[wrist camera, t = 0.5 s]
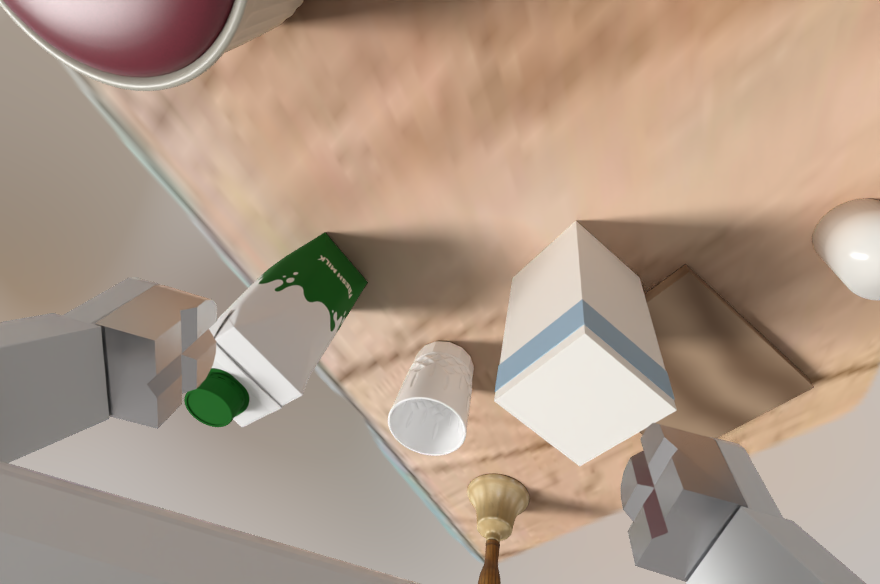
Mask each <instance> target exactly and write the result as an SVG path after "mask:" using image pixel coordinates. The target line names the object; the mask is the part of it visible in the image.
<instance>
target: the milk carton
mask: <svg viewBox="0 0 880 584" xmlns="http://www.w3.org/2000/svg"><path fill="white" fill-rule="evenodd" d="M367 283H368V282H367V281H366V280H365V278H364V277H363V276H362V275H361V274H360V273H359V271H358V270H357V269H356V268H355V267H354V266H353V264H352V263H351V262H350V261H349V260H348V259H347V257H346V256H345V255H344V254H343V253H342V252H341V250H340V249H339V248H338V247H337V246H336V245H335V243H334V242H333V241H332V240H331V239H330V238H329V236H328V235H327V234H326V233H323V234H321V235H320V236H318V237H317V238H315V239H314V240H312V241H310V242H309V243H307V244H305V245H304V246H302V247H300V248H299V249H297V250H295V251H294V252H292V253H291V254H289V255H287V256H286V257H284V258H283V259H282V260H280V261H279V262H277V263H276V264H275V265H273V266H272V267H271V268H269V269H268V270H267V271H266V272H265V273H263V274H262V275H261V276H260V277H259V278H258V279H257V280H256V281H255V282H254V283H253V284H252V285H251V286H250V287H249V288H248V289H247V290H246V291H245V292H244V293H243V294H242V295H241V296H240V297H239V298H238V299H237V300H236V301H235V302H234V303H233V304H232V305H231V306H230V307H229V308H228V309H227V310H226V311H225V312H224V313H223V314H222V315H221V316H220V317H219V319H217V322H216V323H215V324H213V325H212V326H211V327H210V328H209V330H210V332H211V333H212V335H213V337H214V338H215V340H216V354H215V359H214V363H213V366H212V368H211V369H210V371H209V373H208V375H207V377H206V379H205V380H204V381H203V382H202V383H201V384H200V385H199V387H198V388H197V389H194V390H191V391H188V392H187V393H186V395H185V405H186V408H187V410H188V411H189V412H190V414H191V415H192V416H193V417H194V418H196V419H197V420H198V421H200V422H202V423H204V424H206V425H209V426H212V427H223V426H226V425H228V424H229V423H230V422H231V421H232V420H233V419H234V420H235V421H236V422H237V423H238V424H239V425H240V426H241V427H244V426H246V425H248V424H250V423H252V422H254V421H256V420H258V419H260V418H262V417H264V416H266V415H268V414H270V413H272V412H275V411H277V410H279V409H281V408H282V407H283V406H285V405H286V404H287V403H289V402H291V401H293V400H295V399H296V398H298V397H300V396H302V395H303V392H304V390H305V387H306V384H307V381H308V379H309V376H310V374H311V373H312V371H313V370H314V368H315V367H316V365H317V364H318V362H319V360H320V359H321V357H322V355H323V354H324V352H325V351H326V349H327V347H328V346H329V344H330V343H331V341H332V339H333V338H334V336H335V335H336V333H337V331H338V330H339V328H340V327H341V325H342V323H343V322H344V320H345V318H346V317H347V315H348V314H349V312H350V310H351V309H352V307H353V305H354V304H355V302H356V301H357V299H358V297H359V296H360V294H361V292H362V291H363V289H364V287H365V286H366V284H367Z"/></svg>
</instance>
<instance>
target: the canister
mask: <svg viewBox="0 0 880 584" xmlns="http://www.w3.org/2000/svg"><path fill="white" fill-rule="evenodd" d="M302 3H303V0H0V6H1V7H2V8H3V9H4V11H5V12H6V13H7V14H8V15H9V16H10V17H11V19H12V20H13V21H14V22H15V23H16V24H17V25H18V26H19V27H20V28H21V29H22V30H23V31H24V32H25V33H26V34H27V35H28V36H29V37H31V39H33V40H34V41H35V42H36V43H37V44H38V45H40V46H41V47H42V48H43V49H44V50H46V51H47V52H48V53H50V54H51V55H52V56H54V57H55V58H56V59H58V60H59V61H61V62H62V63H64V64H65V65H67V66H68V67H70V68H72V69H74V70H75V71H77V72H79V73H81V74H83V75H85V76H87V77H89V78H91V79H94V80H96V81H98V82H101V83H104V84H107V85H110V86H114V87H118V88H122V89H128V90H136V91H156V90H163V89H168V88H172V87H176V86H179V85H182V84H184V83H187V82H189V81H191V80H193V79H195V78H196V77H198V76H200V75H201V74H203V73H204V72H205V71H207V70H208V69H209V68H210V67H211V66H212V65H213V64H215V63H216V61H217V60H218V59H219V58H220V57H221V56H222V55H223V53H225V52H228V51H230V50H232V49H234V48H236V47H238V46H240V45H243V44H245V43H247V42H249V41H251V40H252V39H254V38H256V37H258V36H261V35H262V34H264V33H266V32H268V31H270V30H272V29H273V28H275V27H277V26H279V25H280V24H282V23H283V22H284V21H285V19H287V18H289V17H290V16H292V15H293V14H294V12H295V10H296V9H297V8H298V7H299V6H300V5H301V4H302Z"/></svg>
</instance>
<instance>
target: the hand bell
mask: <svg viewBox="0 0 880 584" xmlns="http://www.w3.org/2000/svg"><path fill="white" fill-rule="evenodd" d="M467 495H468V498H469V500H470V502H471V504H472V505H473V506H474V507H475V509H476V514H477V530H478V532H479V533H480V534H481V535H482V536H483V537H485V538H486V553H485V563H484V566H483V569H482V571H481V573H480V576H479V581H478V584H500V574H499V570H498V556H499V548H500V541H502V540H505V539H507V538H508V537H509V536H510V535H511V533H512V529H513V525H514V521H515V518H516V516H517V515H519V514H521V513H522V512H523V511H524V510H525V509H526V508H527V506H528V504H529V494H528V492H527V490H526V488H525V487H524V486H523V485H522V484H521V483H520V482H519V481H517V480H515V479H513V478H511V477H508V476H505V475H501V474H485V475H481V476H479V477H476V478H475V479H474V480H472V481H471V482H470V484H469V486H468V488H467Z"/></svg>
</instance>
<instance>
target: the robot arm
mask: <svg viewBox="0 0 880 584" xmlns="http://www.w3.org/2000/svg"><path fill="white" fill-rule="evenodd" d="M216 322H217V305H216V304H215V303H214V301H213V300H211V299H208V298H205V297H202V296H198V295H195V294H192V293H188V292H185V291H181V290H178V289H175V288H172V287H168V286H165V285H160V284H158V283H155V282H151V281H147V280H144V279H140V278H127V279H125V280H124V281H122V282H120V283H118V284H116V285H115V286H113V287H111V288H109V289H108V290H106V291H104V292H102V293H101V294H99V295H97V296H95V297H94V298H92V299H90V300H88V301H87V302H85V303H83V304H82V305H80V306H78V307H76V308H75V309H73V310H71V311H69V312H67V313H66V314H64V315H59V314H55V313H51V314H45V315H40V316H34V317H29V318H22V319H16V320H11V321H5V322H0V584H420V583H416V582H413V581H409V580H406V579H403V578H399V577H395V576H392V575H389V574H386V573H382V572H379V571H375V570H372V569H368V568H365V567H361V566H358V565H354V564H351V563H347V562H344V561H341V560H337V559H334V558H330V557H327V556H323V555H320V554H317V553H314V552H310V551H307V550H303V549H300V548H296V547H293V546H290V545H286V544H283V543H279V542H276V541H272V540H269V539H266V538H262V537H258V536H255V535H252V534H249V533H245V532H242V531H238V530H235V529H231V528H228V527H225V526H221V525H218V524H214V523H211V522H207V521H204V520H201V519H197V518H194V517H190V516H187V515H184V514H180V513H176V512H173V511H170V510H166V509H163V508H160V507H156V506H153V505H149V504H146V503H142V502H139V501H135V500H132V499H129V498H125V497H122V496H119V495H115V494H112V493H108V492H105V491H101V490H98V489H94V488H91V487H88V486H84V485H80V484H78V483H74V482H71V481H67V480H64V479H60V478H57V477H54V476H50V475H47V474H43V473H40V472H36V471H33V470H30V469H26V468H23V467H19V466H16V465H12V464H9V462H11V461H14V460H16V459H18V458H20V457H23V456H25V455H27V454H30V453H32V452H34V451H37V450H39V449H41V448H43V447H46V446H48V445H50V444H53V443H55V442H57V441H60V440H62V439H64V438H66V437H69V436H70V435H73V434H76V433H78V432H80V431H82V430H85V429H87V428H89V427H92V426H94V425H96V424H99V423H101V422H103V421H105V420H107V419H109V416H111V417H115V418H119V419H123V420H126V421H130V422H134V423H138V424H142V425H146V426H150V427H154V428H159V427H160V426H161V425H162V424H163V423H164V422H165V421H166V420H167V419H168V418H169V417H170V416H171V414H173V413H174V412H175V411H176V409H177V408H178V407H179V406H180V405H181V404H182V393H185V392H188V391H191V390H194V389H197V388H198V387H199V385H200V384H201V383H202V382H203V381H204V380H205V379H206V377H207V375H208V373H209V371H210V369H211V368H212V366H213V363H214V359H215V354H216V340H215V338H214V337H213V335H212V333H211V332H210V330H209V328H210V327H211V326H212V325H213V324H215V323H216ZM641 443H642V446H643V450H644V451H642V452H640V453H638V454H636V455H634V456H632V457H631V458H630V460H629V462H628V464H627V466H626V468H625V470H624V473H623V478H622V483H621V500H622V506H623V510H624V511H625V512H626V513H627V515H628V516H629V517H630V518H631V519H632V521H633V523H632V525H631V527H630V528H629V530H628V534H629V539H630V543H631V548H632V552H633V556H634V561H635V566H638V567H641V568H644V569H647V570H651V571H654V572H657V573H660V574H664V575H666V576H670V577H673V578H676V579H679V580H682V581H685V582H686V584H866V583H865V582H864V581H862V580H861V579H860V578H859V577H858V576H857V575H856V574H854V573H853V572H852V571H851V570H850V569H848V568H847V567H846V566H845V565H844V564H843V563H842V562H840V561H839V560H838V559H837V558H836V557H835V556H833V555H832V554H831V553H830V552H829V551H827V550H826V549H825V548H824V547H823V546H822V545H820V544H819V543H818V542H817V541H816V540H815V539H813V538H812V537H811V536H810V535H809V534H808V533H806V532H805V531H804V530H803V529H802V528H801V527H799V526H798V525H797V524H796V523H795V522H794V521H792V520H788V519H785V518H783V517H782V515H781V513H780V511H779V509H778V508H777V506H776V504H775V502H774V500H773V499H772V497H771V495H770V493H769V491H768V490H767V488H766V486H765V484H764V482H763V481H762V479H761V477H760V475H759V473H758V472H757V470H756V468H755V466H754V464H753V463H752V461H751V459H750V457H749V455H748V454H747V452H746V450H745V449H744V448H743V447H742V446H740V445H739V444H737V443H733V442H729V441H725V440H721V439H717V438H713V437H707V436H703V435H699V434H695V433H691V432H687V431H683V430H680V429H676V428H672V427H668V426H664V425H660V424H657V423H652V424H651V425H649V426H648V427H647V428H646V430H645V432H644V434H643V435H642V437H641Z"/></svg>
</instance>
